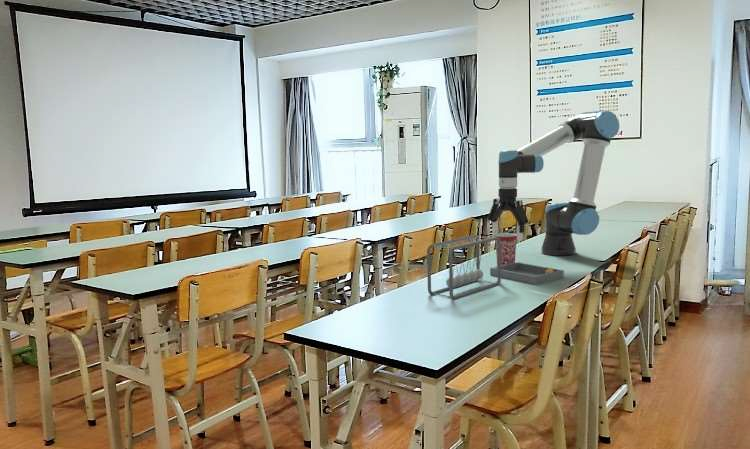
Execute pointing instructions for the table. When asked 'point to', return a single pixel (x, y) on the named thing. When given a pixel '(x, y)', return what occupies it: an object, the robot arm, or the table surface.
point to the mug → (506, 248)
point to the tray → (527, 273)
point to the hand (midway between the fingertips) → (507, 238)
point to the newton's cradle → (465, 277)
